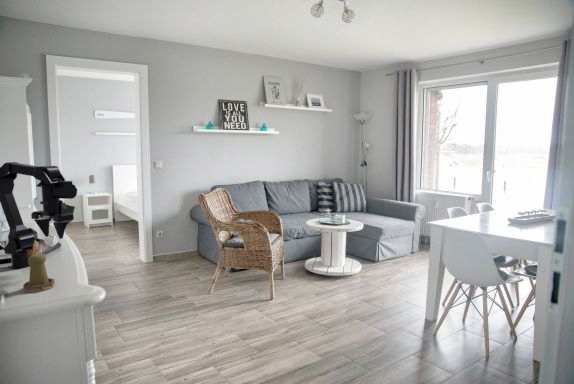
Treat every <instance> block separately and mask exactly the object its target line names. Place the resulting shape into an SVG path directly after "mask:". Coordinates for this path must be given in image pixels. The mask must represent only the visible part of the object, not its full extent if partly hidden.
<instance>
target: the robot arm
mask: <svg viewBox="0 0 574 384" xmlns="http://www.w3.org/2000/svg"><path fill="white" fill-rule="evenodd" d="M18 175H23V176H24V175H25V176H29V177H33V178H34V179H35V180H37V181H39V183H38V184H37V185H36V187H37V188H41V198H42V200H40V201H39V203H40V204H39V205H42V210H36V211H33V212H32V213H31V214H30V217H31V219H32V220H33V221H34V223H35V224H36V225H37V226H38V227H39V229H40V230H41V233H43V235H44V236H45V237H46V238H47V237H49V236H50V223H51V221H52V220H53V222H52V223H53V226H54V229H55V232H56V234H57V237H58V238H59V239H60V240H61V239H63V238H64V234H65V232H66V227H67V225H68V224H69V223H71V222H72V221H74V220H75V217H74V216H75V215H74V213H75V209H76V206H74V205H69V204H66V202H63V199H67V200H68V199H71V200H72V199H74V198H76V197H77V195H78V188H77V186H76V185H75V184H73V180H67V179H66V177H65V176H64V174H63V173H62V172H61V170H60V169H59V167H58V165H45V166H39V165H38V166H37V165H33V164H24V163H20V162H17V161H15V162H14V161H9V162H5V163H3V164H2V166H0V206H1V208H2V212H3V213H4V216H5V220H6V222H7V224H8V228H9V232H8V235H7V240H8V243H7V244H5V246H4V248H3V251H4V253H5V255H10V259H11V260H10V261H11V264H10V265H8V266H7V268H9V269H10V268H11V269H15V270H18V269H22V268H27V267H30V264H29V262H28V258H29V252H28V251H32V250H33V248H34V245H35V241H36V240H35V237H36V236H35V234H34V233H33V228H32V227H27V226H25V224H24V222H23V219H22V216H21V213H20V211H19V208H18V204H17V202H16V198H15V197H14V193H13V191H14V189H15V182H14V181H15V180H16V179H17V178H18Z"/></svg>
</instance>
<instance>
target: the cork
mask: <svg viewBox="0 0 574 384" xmlns="http://www.w3.org/2000/svg"><path fill="white" fill-rule="evenodd" d="M46 261H47V257H46V255H45V254H44V253H34V254H30V255H28V262H29V264H30V266H29V280H28V281H29V286H37V285H43V284H46V283H49V280H48V278H49V277H48V272H47V267H46V264H45V262H46Z"/></svg>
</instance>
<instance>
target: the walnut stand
mask: <svg viewBox="0 0 574 384" xmlns="http://www.w3.org/2000/svg"><path fill="white" fill-rule="evenodd" d="M48 280H49V283H46V284H43V285H37V286H29V280H28V281H26V282H24V284H23V286H22V287H23V290H24V292H25V293H38V292H44V291H48V290H50V289H53V288H54V286H55V279H54V278H50V277H48Z"/></svg>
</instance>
